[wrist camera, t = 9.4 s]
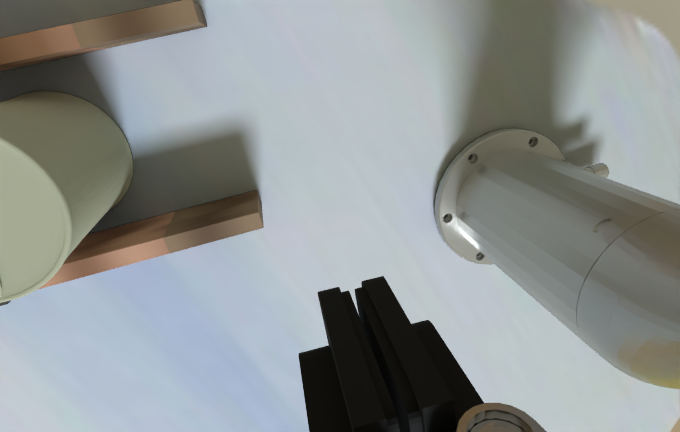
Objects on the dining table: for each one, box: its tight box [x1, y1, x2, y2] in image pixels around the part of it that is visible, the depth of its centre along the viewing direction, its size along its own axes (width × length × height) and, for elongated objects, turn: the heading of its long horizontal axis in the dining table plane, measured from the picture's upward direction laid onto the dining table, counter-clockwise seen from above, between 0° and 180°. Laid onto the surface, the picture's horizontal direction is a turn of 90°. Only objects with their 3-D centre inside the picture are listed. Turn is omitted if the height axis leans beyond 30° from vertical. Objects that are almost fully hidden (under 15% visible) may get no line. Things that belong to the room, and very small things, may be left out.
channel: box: [0, 0, 263, 289], centre depth 27 cm, size 16×14×5 cm
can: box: [0, 91, 133, 303], centre depth 24 cm, size 9×9×12 cm
